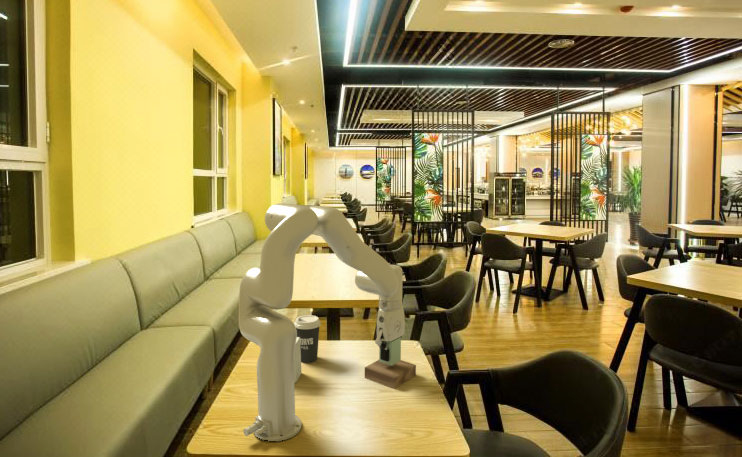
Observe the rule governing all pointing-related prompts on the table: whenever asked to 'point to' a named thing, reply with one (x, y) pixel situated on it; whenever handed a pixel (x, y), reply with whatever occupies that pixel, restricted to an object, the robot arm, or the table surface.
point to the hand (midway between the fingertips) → (390, 356)
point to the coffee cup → (308, 337)
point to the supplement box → (297, 360)
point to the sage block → (393, 352)
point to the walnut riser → (390, 373)
